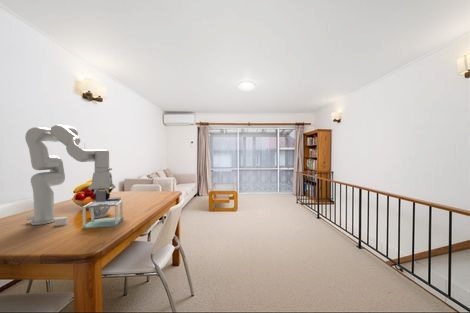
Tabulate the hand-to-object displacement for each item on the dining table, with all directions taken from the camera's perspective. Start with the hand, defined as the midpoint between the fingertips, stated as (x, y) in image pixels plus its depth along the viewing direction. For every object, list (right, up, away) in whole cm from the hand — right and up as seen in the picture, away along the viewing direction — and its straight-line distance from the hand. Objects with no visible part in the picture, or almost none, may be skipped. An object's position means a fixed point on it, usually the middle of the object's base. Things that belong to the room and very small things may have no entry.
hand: (102, 199), depth 125 cm
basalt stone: (0, -1, 0) cm, 1 cm away
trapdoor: (-1, -6, +5) cm, 8 cm away
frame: (0, -15, +2) cm, 15 cm away
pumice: (-25, -16, +1) cm, 30 cm away
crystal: (-12, -15, +18) cm, 26 cm away
